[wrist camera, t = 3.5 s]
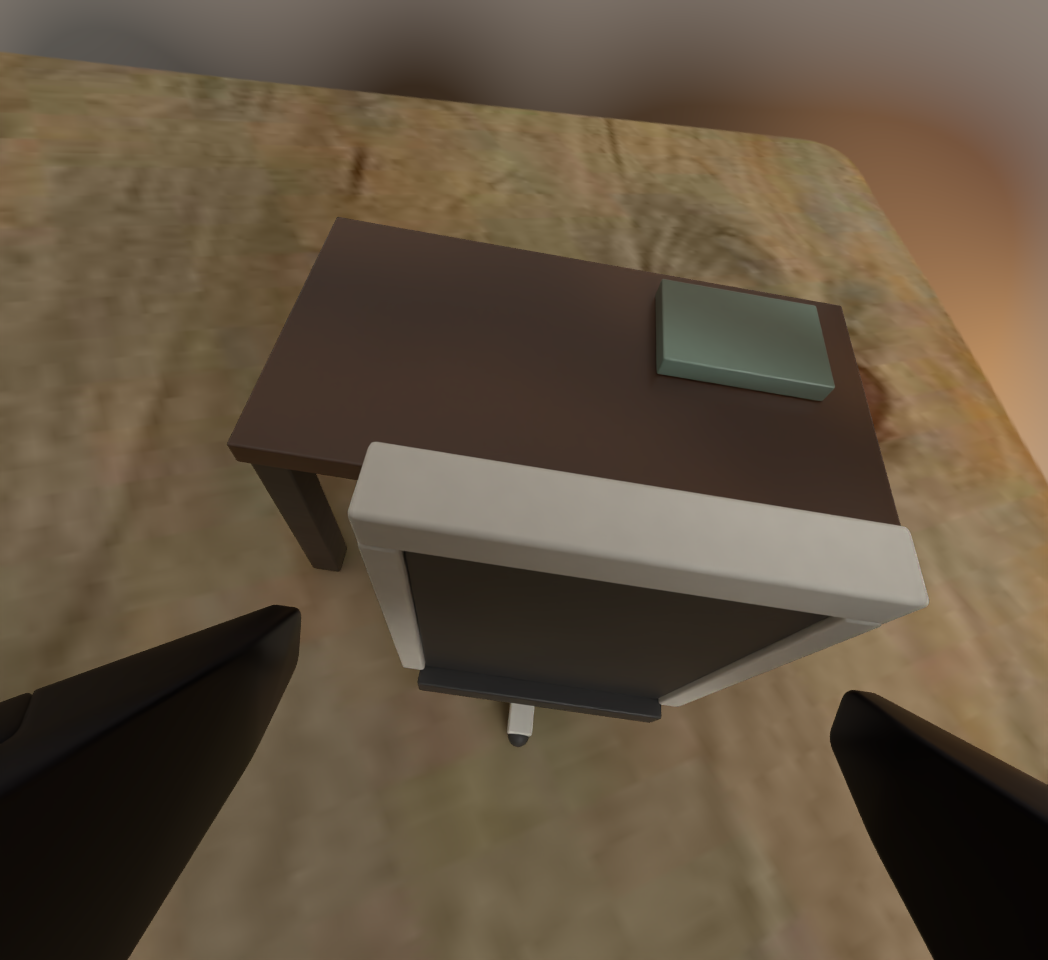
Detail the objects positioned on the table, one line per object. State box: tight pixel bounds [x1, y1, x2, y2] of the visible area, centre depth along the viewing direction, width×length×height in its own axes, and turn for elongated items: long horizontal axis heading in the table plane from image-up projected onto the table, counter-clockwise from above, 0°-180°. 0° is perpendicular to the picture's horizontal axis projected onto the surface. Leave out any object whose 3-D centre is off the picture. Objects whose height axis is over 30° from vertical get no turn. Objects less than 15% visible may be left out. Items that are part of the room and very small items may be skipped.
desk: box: [227, 217, 901, 571], centre depth 17 cm, size 8×15×8 cm, turn 83°
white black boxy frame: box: [348, 442, 929, 747], centre depth 12 cm, size 7×7×12 cm
